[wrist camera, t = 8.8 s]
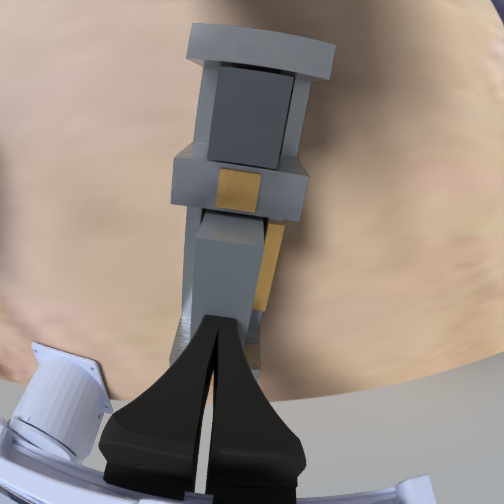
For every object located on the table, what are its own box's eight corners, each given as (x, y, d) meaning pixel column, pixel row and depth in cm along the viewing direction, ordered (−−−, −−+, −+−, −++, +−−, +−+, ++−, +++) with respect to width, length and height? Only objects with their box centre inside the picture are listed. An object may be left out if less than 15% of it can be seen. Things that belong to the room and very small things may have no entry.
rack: (255, 336, 23) (255, 401, 18) (183, 326, 22) (167, 389, 17) (313, 58, 14) (344, 41, 8) (210, 42, 13) (187, 17, 8)
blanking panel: (242, 295, 21) (237, 376, 15) (206, 290, 21) (188, 369, 15) (261, 189, 17) (264, 247, 11) (217, 182, 17) (195, 237, 11)
